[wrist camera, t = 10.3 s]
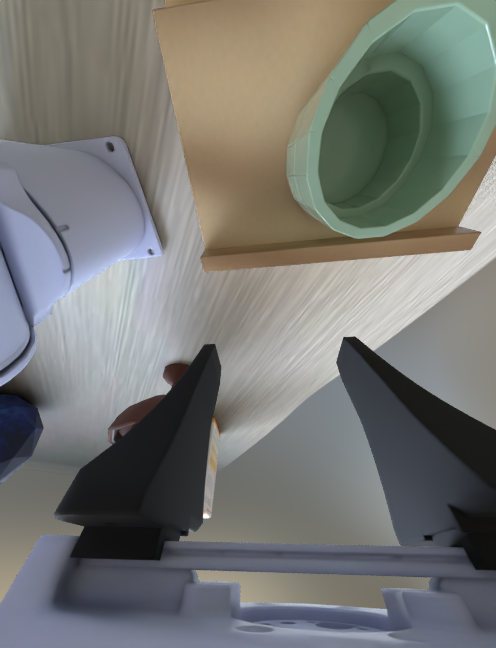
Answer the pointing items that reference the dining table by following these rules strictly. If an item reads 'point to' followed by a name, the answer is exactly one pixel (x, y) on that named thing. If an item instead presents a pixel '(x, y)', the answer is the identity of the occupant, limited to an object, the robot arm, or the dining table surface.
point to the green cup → (397, 117)
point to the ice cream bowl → (142, 406)
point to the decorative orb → (17, 433)
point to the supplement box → (211, 469)
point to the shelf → (274, 130)
